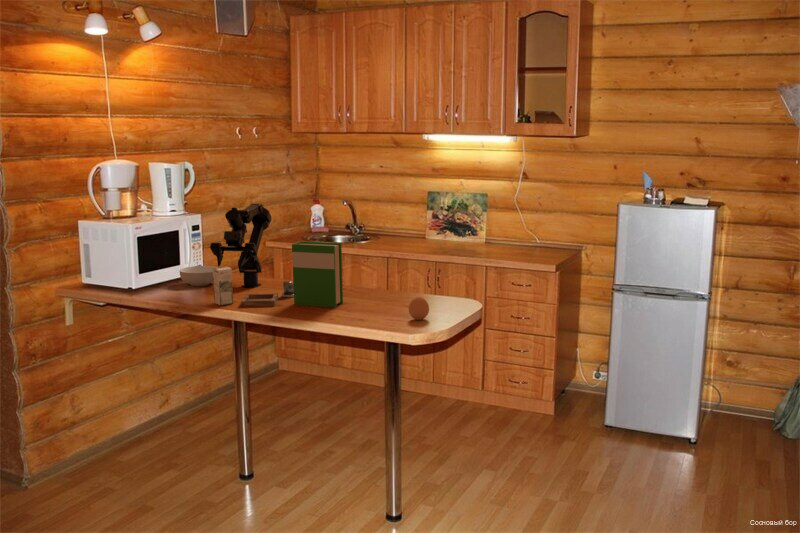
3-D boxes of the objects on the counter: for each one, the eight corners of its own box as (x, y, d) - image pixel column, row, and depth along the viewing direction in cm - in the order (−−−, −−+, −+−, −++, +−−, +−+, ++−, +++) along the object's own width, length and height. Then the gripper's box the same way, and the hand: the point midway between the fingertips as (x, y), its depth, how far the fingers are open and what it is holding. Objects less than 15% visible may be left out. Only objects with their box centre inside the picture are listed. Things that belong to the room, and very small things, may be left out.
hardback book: (343, 303, 306) (341, 243, 302) (335, 307, 300) (333, 246, 295) (302, 300, 312) (300, 241, 308) (294, 304, 305) (291, 244, 301)
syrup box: (227, 301, 312) (225, 265, 310) (233, 303, 308) (231, 267, 305) (214, 303, 309) (211, 267, 306) (220, 306, 304) (218, 269, 302)
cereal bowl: (191, 290, 334) (190, 274, 333) (173, 284, 346) (172, 269, 345) (226, 284, 345) (225, 268, 344) (208, 279, 358) (207, 263, 356)
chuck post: (286, 294, 324) (285, 280, 323) (299, 295, 321) (298, 280, 320) (279, 297, 318) (278, 282, 317) (291, 298, 316) (291, 283, 315)
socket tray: (246, 299, 315) (246, 294, 315) (278, 298, 316) (277, 293, 315) (241, 307, 302) (241, 301, 302) (274, 306, 303) (274, 300, 303)
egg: (429, 317, 283) (429, 294, 281) (429, 322, 276) (428, 298, 274) (409, 317, 283) (408, 294, 282) (408, 322, 276) (408, 298, 275)
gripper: (210, 223, 318) (201, 254, 309) (254, 223, 315) (246, 254, 306) (218, 239, 327) (209, 270, 318) (261, 239, 324) (253, 270, 315)
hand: (229, 266), depth 314 cm, fingers open, 9 cm apart
